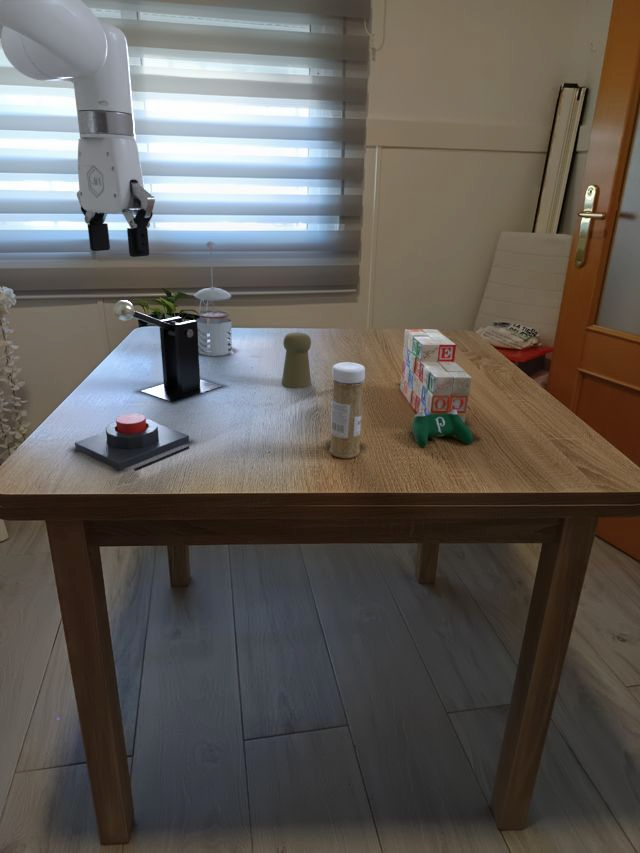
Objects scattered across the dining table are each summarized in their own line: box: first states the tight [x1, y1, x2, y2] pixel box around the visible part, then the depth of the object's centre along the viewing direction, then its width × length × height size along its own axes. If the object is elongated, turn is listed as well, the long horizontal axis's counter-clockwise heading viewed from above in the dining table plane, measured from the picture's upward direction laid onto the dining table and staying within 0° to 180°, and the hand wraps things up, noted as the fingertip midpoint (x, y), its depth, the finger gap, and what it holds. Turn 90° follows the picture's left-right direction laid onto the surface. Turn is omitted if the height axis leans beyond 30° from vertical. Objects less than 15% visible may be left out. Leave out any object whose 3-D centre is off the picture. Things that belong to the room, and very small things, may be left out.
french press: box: [193, 241, 237, 357], centre depth 127 cm, size 10×12×25 cm
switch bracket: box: [139, 316, 223, 404], centre depth 104 cm, size 12×9×14 cm
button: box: [115, 412, 147, 434], centre depth 81 cm, size 4×4×2 cm
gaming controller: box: [412, 410, 474, 448], centre depth 90 cm, size 9×4×6 cm
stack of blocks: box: [400, 328, 472, 423], centre depth 102 cm, size 21×6×12 cm, turn 5°
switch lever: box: [113, 299, 177, 337], centre depth 97 cm, size 15×3×3 cm, turn 144°
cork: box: [281, 331, 312, 390], centre depth 109 cm, size 6×6×11 cm
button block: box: [74, 418, 190, 472], centre depth 82 cm, size 12×10×4 cm
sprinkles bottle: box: [329, 361, 366, 459], centre depth 83 cm, size 5×5×14 cm
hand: (119, 253), depth 88 cm, fingers open, 9 cm apart
